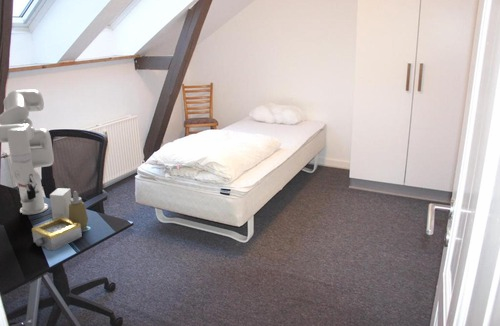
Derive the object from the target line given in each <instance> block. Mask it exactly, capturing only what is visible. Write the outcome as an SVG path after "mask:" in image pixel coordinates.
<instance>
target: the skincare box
mask: <svg viewBox="0 0 500 326" xmlns="http://www.w3.org/2000/svg"><path fill="white" fill-rule="evenodd" d="M71 198H72V192H71V188H64V187H63V188H62V187H60V188H59V187H58V188H56V189H55V190H54V191H52V192H51V193H50V194H49V201H50V202H49V203H50V208H51V216H52V217H51V218H52V220H54V219H56V218H59V217H61V216H62V217H65V218H67V219H69V204H70V203H71V200H70V199H71Z"/></svg>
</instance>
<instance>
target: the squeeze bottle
mask: <svg viewBox="0 0 500 326" xmlns="http://www.w3.org/2000/svg"><path fill="white" fill-rule="evenodd" d="M72 195H73V196H72V197H71V199H70V200H71V203H70V204H69V219H70V220H72V221H75V222H78V223H80V225H81V231H82V230H83V229H86V227H87V226H88V222H89V218H88V217H89V216H88V212H87V208H86V205H85V202H84V201H83V199H82V197H80V196H79V194H78V192H77V190H74V191H73V194H72Z"/></svg>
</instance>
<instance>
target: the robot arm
mask: <svg viewBox="0 0 500 326" xmlns="http://www.w3.org/2000/svg"><path fill="white" fill-rule="evenodd" d="M44 106H45V102H44V98H43V96H42V93H41V92H40V91H39V90H37V89H19V90H18V89H16V90H12V91H10V92H9V93H8V94H7V96H5V98H4V99H3V107H4V111H3V112H2V113H1V114H0V143H4V144H5V143H6V144H7V143H8V148H9V154H10V159H11V160H10V161H11V162H10V166H11V176H12V181H13V182H14V183H16V184H17V188H18V195H19V196H20V191H19V186H18V183H19V184H22V185H26V187H27V190H28V191H27V196H28V199H29V200H30V199H33V198H35V200H34V201H32V202H29V203H23V202H21V201H20V203H21V204H22V205H21V206H22V207H20V209H19V213H20V214H21V213H22V215H25V216H26V215H27V216H31V215H38V214H41V213H45V211H47V210H48V209H49V204H47V203H45V202H44V201H45V199H44V194H43V186H42V181H41V180H42V179H41V175H40V173H39V172H38V171H37V170H36V168H44V167H51V166H52V165H54V160H55V157H54V150H53V144H52V138H51V137H52V136H51V134H50V131H49V130H48V129H47V128H34V127H33V122H32V120H31V119H30V118H29V115H30V114H29V113H30V112H41V111H43V110H44V108H45V107H44ZM29 182H31V183H29ZM30 184H31V186H30V187H29V185H30ZM36 190H38V191H39V193H37V194H35V191H36Z"/></svg>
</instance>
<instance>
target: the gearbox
mask: <svg viewBox="0 0 500 326" xmlns="http://www.w3.org/2000/svg"><path fill="white" fill-rule="evenodd" d="M31 232H32V233H31V235H32V238H33V243H35V245H36V246H37V247H43V248H44V249H45V248H46V249H48V250H50V251H55V250H57V249H60V248H62V247H64V246H66V245H68V244H69V243H72V242H74V241H76V240H79V239H81V238H83V235H82V230H81V225H80V223H78V222H75V221H72V220H70V219H67V218H65V217H62V216H61V217H59V218H56V219H54V220H53V219H52V220H49V221H47V222H44V223H42V224H39V225H36V226H34V227H32V228H31Z"/></svg>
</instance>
